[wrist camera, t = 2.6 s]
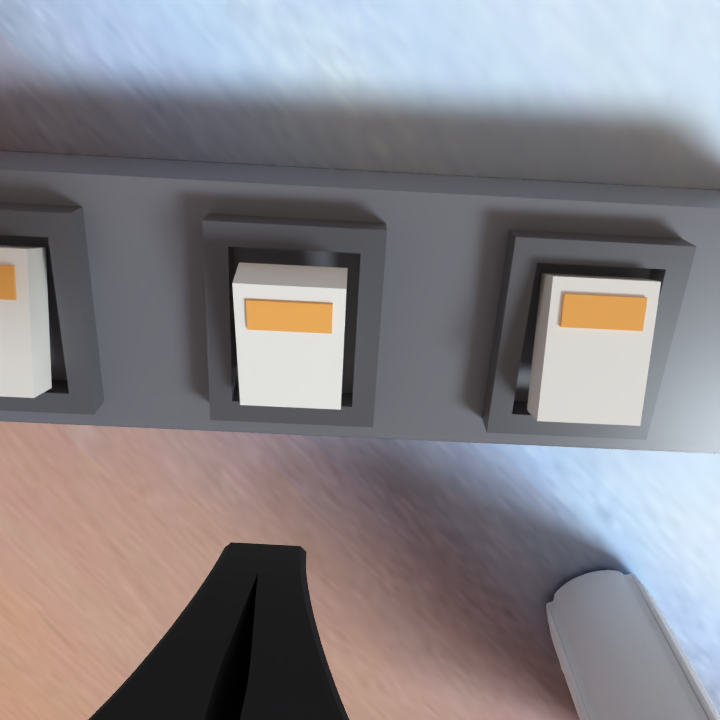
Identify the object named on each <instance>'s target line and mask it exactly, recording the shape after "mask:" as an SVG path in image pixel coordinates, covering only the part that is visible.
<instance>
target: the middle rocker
mask: <svg viewBox="0 0 720 720" xmlns="http://www.w3.org/2000/svg"><path fill="white" fill-rule="evenodd" d="M347 269H348V268H337V267H317V266H298V265H278V264H259V263H239V264H238V267H237V270H236V273H235V276H234V279H233V283H232V287H233V302H234V317H235V333H236V348H237V363H238V379H239V394H240V405H251V406H272V407H294V408H316V409H337V410H341V394H342V373H343V353H344V332H345V311H346V290H347Z"/></svg>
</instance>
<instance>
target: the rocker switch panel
mask: <svg viewBox="0 0 720 720" xmlns="http://www.w3.org/2000/svg"><path fill="white" fill-rule="evenodd" d="M0 245H11V246H31V247H46V266H47V290H48V313H49V336H50V359H51V382H52V388H51V389H49V390H47V391H45V392H44V393H42V394H40V395H39V396H37V397H35V398H23V397H1V396H0V421H7V422H29V423H51V424H73V425H95V426H117V427H140V428H162V429H184V430H206V431H228V432H250V433H273V434H295V435H317V436H339V437H361V438H383V439H406V440H428V441H450V442H472V443H494V444H516V445H539V446H561V447H583V448H605V449H627V450H649V451H672V452H694V453H716V454H720V190H707V189H689V188H670V187H652V186H634V185H616V184H598V183H580V182H561V181H543V180H525V179H507V178H489V177H470V176H452V175H434V174H416V173H398V172H380V171H361V170H343V169H325V168H307V167H289V166H270V165H252V164H234V163H216V162H198V161H179V160H161V159H143V158H125V157H107V156H89V155H70V154H52V153H34V152H16V151H0ZM239 263H259V264H278V265H298V266H317V267H337V268H348V269H347V290H346V311H345V332H344V353H343V373H342V394H341V410H337V409H316V408H294V407H272V406H251V405H240V394H239V379H238V363H237V348H236V333H235V317H234V302H233V287H232V283H233V279H234V276H235V273H236V270H237V267H238V264H239ZM542 273H555V274H574V275H593V276H613V277H632V278H645V279H650V280H655V281H660V282H661V286H660V293H659V299H658V306H657V313H656V320H655V327H654V334H653V341H652V348H651V355H650V362H649V369H648V376H647V383H646V390H645V397H644V404H643V411H642V418H641V425H640V426H632V425H610V424H588V423H566V422H545V421H537V420H536V419H535V418H534V417H533V416H532V415H531V414H530V413H529V412H528V411H527V405H528V395H529V386H530V377H531V367H532V358H533V349H534V339H535V330H536V321H537V311H538V302H539V293H540V283H541V274H542Z"/></svg>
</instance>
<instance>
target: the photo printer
mask: <svg viewBox="0 0 720 720" xmlns="http://www.w3.org/2000/svg"><path fill="white" fill-rule="evenodd" d="M546 610H547V618H548V624H549V629H550V634H551V638H552V641H553V644H554V647H555V650H556V653H557V656H558V659H559V662H560V666H561V670H562V672H563V673H564V676H565V679H566V682H567V685H568V687H569V690H570V693H571V696H572V699H573V702H574V705H575V708H576V710H577V713H578V716H579V719H580V720H720V716H719V714H718V712H717V710H716V708H715V706H714V705H713V703H712V701H711V699H710V697H709V695H708V694H707V692H706V690H705V688H704V686H703V685H702V683H701V681H700V679H699V677H698V675H697V674H696V672H695V670H694V668H693V666H692V665H691V663H690V661H689V659H688V657H687V656H686V654H685V652H684V650H683V649H682V647H681V645H680V643H679V642H678V640H677V638H676V636H675V635H674V633H673V631H672V629H671V628H670V626H669V624H668V622H667V620H666V619H665V617H664V615H663V613H662V612H661V610H660V608H659V607H658V605H657V603H656V602H655V600H654V599H653V597H652V596H651V594H650V593H649V592H648V590H647V589H646V588H645V586H644V585H643V584H642V583H641V581H640V580H639V579H638V578H637V577H636V575H635V574H633V573H630V574H627V575H624V574H622V573H621V572H619V571H615V570H600V571H594V572H590V573H586V574H583V575H581V576H578V577H576V578H574V579H572V580H570V581H568V582H567V583H566V584H564V585H563V586H562V587H561V588H560V589H558V591H557V592H556V593H555V595H554V600H553V601H552V602H549V603H547V604H546Z"/></svg>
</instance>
